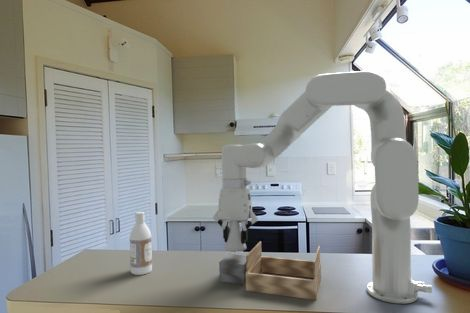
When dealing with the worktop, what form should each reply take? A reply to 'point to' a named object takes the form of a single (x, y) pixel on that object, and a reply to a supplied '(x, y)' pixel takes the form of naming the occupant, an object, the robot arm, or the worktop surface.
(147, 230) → the bath foam
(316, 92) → the robot arm
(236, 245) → the flask
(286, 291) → the wooden box
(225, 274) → the stand
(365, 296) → the worktop surface
